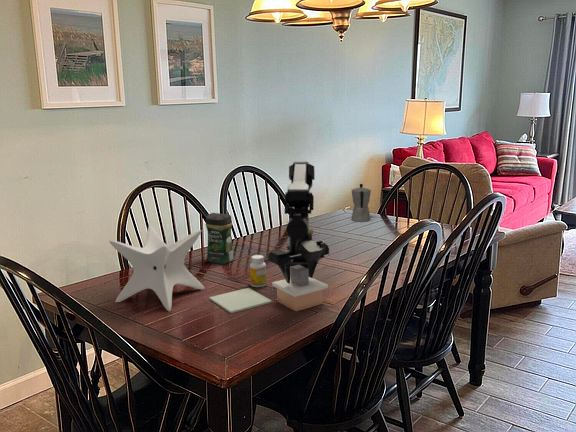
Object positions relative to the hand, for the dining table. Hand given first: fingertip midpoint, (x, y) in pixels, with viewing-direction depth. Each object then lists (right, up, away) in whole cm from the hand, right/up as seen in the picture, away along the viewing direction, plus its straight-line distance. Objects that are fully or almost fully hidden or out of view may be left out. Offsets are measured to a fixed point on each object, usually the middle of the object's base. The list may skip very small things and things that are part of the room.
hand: (299, 280), depth 164 cm
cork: (+4, +4, +50) cm, 50 cm away
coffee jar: (-29, +2, +44) cm, 53 cm away
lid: (0, -2, 0) cm, 2 cm away
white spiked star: (-44, -6, +9) cm, 45 cm away
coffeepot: (+32, +17, +104) cm, 110 cm away
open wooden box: (0, -7, +2) cm, 7 cm away
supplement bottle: (-13, -4, +17) cm, 22 cm away
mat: (-18, -7, +4) cm, 20 cm away
